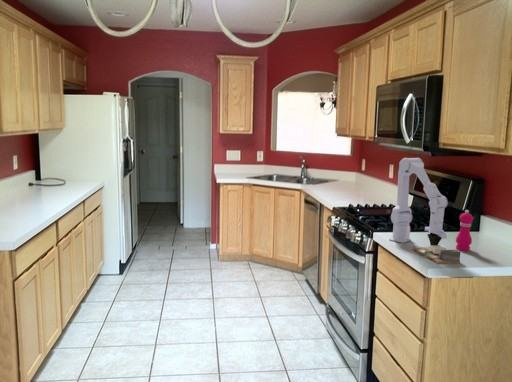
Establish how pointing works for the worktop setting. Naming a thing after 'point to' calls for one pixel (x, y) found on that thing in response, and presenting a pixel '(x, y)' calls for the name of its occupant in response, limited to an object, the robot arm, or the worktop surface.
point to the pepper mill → (464, 232)
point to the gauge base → (437, 260)
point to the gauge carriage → (435, 249)
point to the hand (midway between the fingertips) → (433, 249)
